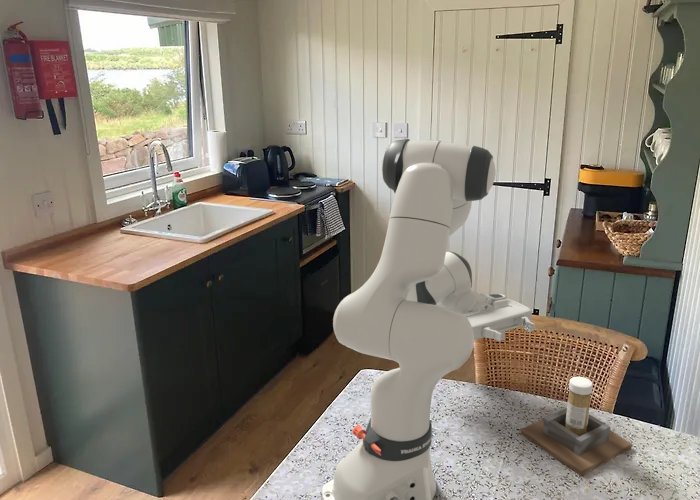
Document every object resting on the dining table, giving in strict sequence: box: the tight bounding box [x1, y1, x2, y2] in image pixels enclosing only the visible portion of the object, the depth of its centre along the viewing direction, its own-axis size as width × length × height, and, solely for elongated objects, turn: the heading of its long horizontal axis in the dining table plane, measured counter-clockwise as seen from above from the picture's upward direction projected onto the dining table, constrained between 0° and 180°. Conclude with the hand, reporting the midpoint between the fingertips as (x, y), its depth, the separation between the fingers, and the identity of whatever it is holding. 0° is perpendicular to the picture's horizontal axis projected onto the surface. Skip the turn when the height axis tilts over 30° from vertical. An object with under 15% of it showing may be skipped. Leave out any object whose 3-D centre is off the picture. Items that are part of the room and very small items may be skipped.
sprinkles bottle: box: [565, 376, 594, 436], centre depth 121 cm, size 5×5×14 cm
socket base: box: [519, 407, 633, 477], centre depth 123 cm, size 16×16×5 cm
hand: (518, 332), depth 129 cm, fingers open, 8 cm apart
